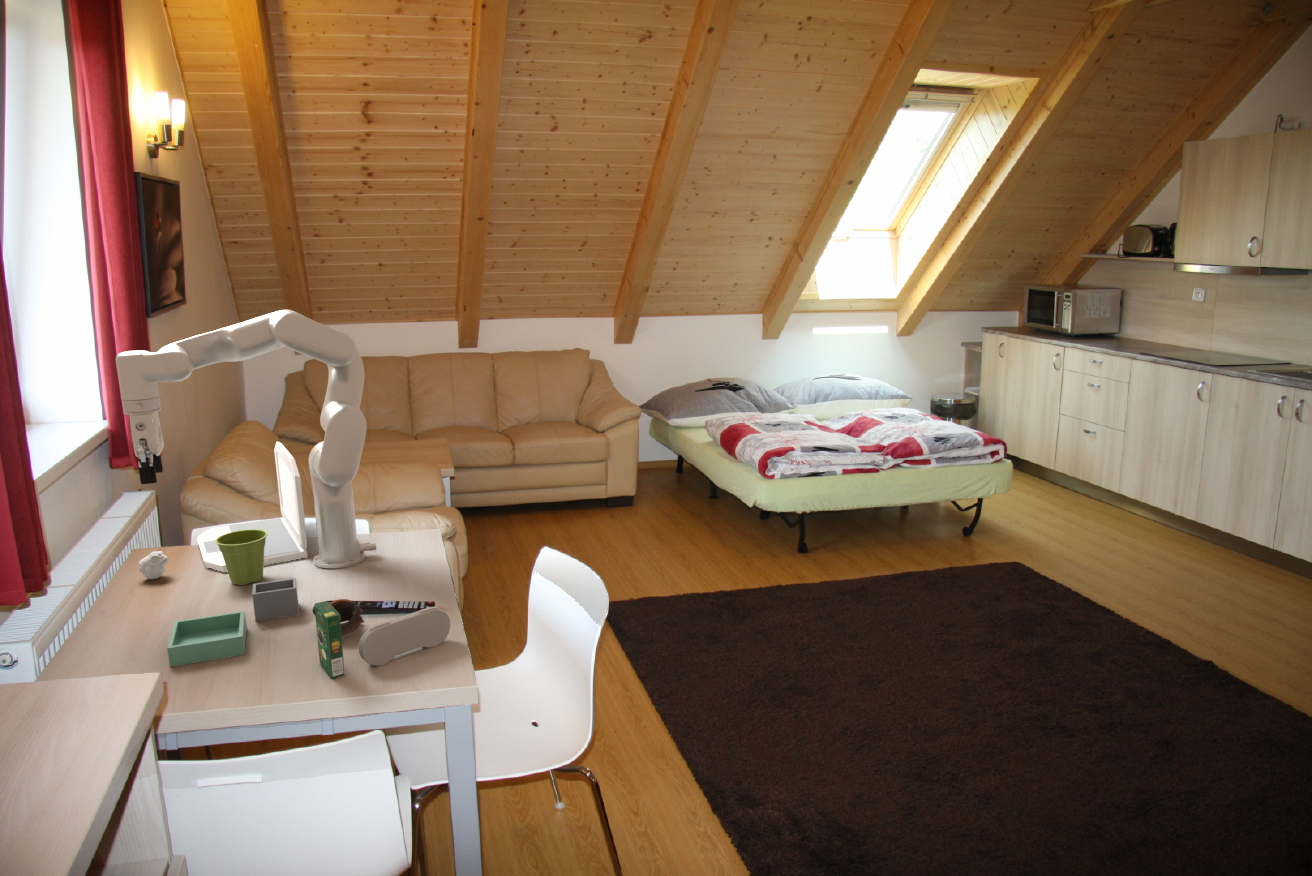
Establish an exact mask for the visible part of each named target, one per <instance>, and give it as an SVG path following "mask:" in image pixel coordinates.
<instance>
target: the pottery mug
mask: <svg viewBox="0 0 1312 876" xmlns="http://www.w3.org/2000/svg"><path fill="white" fill-rule="evenodd" d="M329 603H330V604H331V605H332V606H333V608H334V609H335V610H336V611H337V612H338V613H339V614H340V622H341V636H343V637H344V636H346V635H348V634H350V633H352V632H353V631H354V630H356V629H357V628H358V627H359V625H361V624H362V623H365V621H364V619H363V617H362V616H361V614H362V613H363V612H364V610H363V609H362V607H360V606H359V604H357V602H355V601H353V600H351V599H347V598H346V599H345V598H339V599H334V600H333V601H331V602H329ZM312 607H313V608H312V613H313V614H312V615H314V616H315V609H314V606H312ZM353 610H355V611H353Z"/></svg>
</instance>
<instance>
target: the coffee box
mask: <svg viewBox="0 0 1312 876" xmlns="http://www.w3.org/2000/svg"><path fill="white" fill-rule="evenodd" d="M330 603H331V602H329V601H328V600H325V601H320V602H315V603H314V605H313V607H314V609H315V615H314V619H315V627H316V635H317V636H316V638H317V645H318V646H317V648H318V656H319V658H318V659H319V665H320V666H321V667H322V668H323V669H324V671H325V672H326V674H327V675H328V676H329V677H330V679H331V680H333V679H337V678H342V677H344V676H346V675H345V662H344V651H343V639H342V638H343V637H342V636H341V624H342V622H340V614H339V613H338V612H337V611H336V610H335V609H334V607H333V606H332V605H331V604H330Z"/></svg>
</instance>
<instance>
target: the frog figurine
mask: <svg viewBox="0 0 1312 876" xmlns="http://www.w3.org/2000/svg"><path fill="white" fill-rule="evenodd" d="M168 559H169V556H168V555H166V554H164V552H163V551H162V550H158V551H157V550H156V551H155V550H153V551H152V552H150V553H149V554H148V555H146V556H145V557H143V558H141V560H139V561H138V569H139V572H140V573H141V574H142V575H143V577H145V578H146V579H147V580H156V579H159V578H161V577H162V576H163V574H164V573H165V571H166V570H165V568H166V567H165V566H166V565H167V563H168Z"/></svg>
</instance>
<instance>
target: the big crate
mask: <svg viewBox="0 0 1312 876" xmlns="http://www.w3.org/2000/svg"><path fill="white" fill-rule="evenodd" d="M247 628H248V627H247V619H246V610H239V611H234V612H227V613H221V614H220V613H219V614H215V615H208V616H201V617H195V618H186V619H180V620H174V621H173V624H172V629H171V632H170V635H169V636H170V637H169V640H168V644H167V649H166V650H167V655H168V656H167V657H168V663H169V667H171V668H172V667H177V665H178V666H183V665H190V664H195V663H194V662H196V663H200V662H199V661H202V662H208V661H213V660H218V659H219V658H220V659H224V658H223V657H226V658H230V657H229V656H232V657H238V655H239V656H245V654H246V644H247V643H246V642H247ZM220 659H219V660H220ZM189 663H190V664H189Z"/></svg>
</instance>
